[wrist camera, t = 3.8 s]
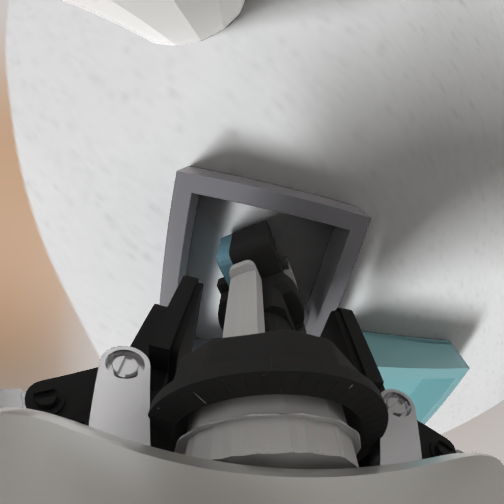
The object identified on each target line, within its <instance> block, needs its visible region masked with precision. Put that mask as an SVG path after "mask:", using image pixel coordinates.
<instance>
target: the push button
mask: <svg viewBox="0 0 504 504" xmlns="http://www.w3.org/2000/svg"><path fill="white" fill-rule="evenodd" d="M285 258H286V261H287V265H288V269H286V270H284V271H283V269H282V266H281V263H280V260H279V256H278V253H277V249H276V245H275V242H274V238H273V236H272V233H271V230H270V228H269V225H268V223H267V221H264V222H262V223H259V224H256V225H254V226H251V227H249V228H246V229H243V230H241V231H238V232H236V233H233V234H231V235H228V236H226V237H223V238H221V240H220V246H219V249H218V252H217V263H218V265H219V268H220V270H221V272H222V274H223V276H224V277H223V278H220V279H219V280H218V283H217V287H218V289H219V291H220V293H221V299H220V304H219V311H218V319H219V324H220V326H221V329H222V331H223V336H222V338H217V339H212V340H210V341H208V342H206V343H205V344H203V345H202V346H200V347H198V348H197V349H195V350H194V351H192V352H191V353H189V354H188V355H186V356H185V357H183V358H182V359H181V360H180V361H179V363H178V367H177V370H176V374H175V377H174V380H173V381H171V382H170V383H169V384H167V385H166V386H165V387H163V388H162V389H161V390H160V391H159V392H158V393H157V395H156V396H155V398H154V399H153V401H152V403H151V405H150V409H149V412H148V415H150V430H151V446H152V447H155V448H159V449H163V450H167V451H171V452H175V453H179V454H183V455H188V456H193V457H198V458H203V459H208V460H214V461H220V462H226V463H233V464H241V465H250V466H259V467H271V468H288V469H341V468H358V467H359V465H358V462H359V461H360V460H361V459H363V458H364V457H365V456H367V455H368V454H369V453H370V447H371V446H372V445H373V444H374V443H375V442H376V441H377V439H379V437H381V436H383V435H384V434H385V431H386V429H387V426H388V420H389V416H388V410H387V406H386V404H385V402H384V399H383V397H382V395H381V393H380V391H379V389H378V388H377V387H376V385H375V384H374V383H373V382H372V381H371V380H370V379H368V378H367V377H366V376H364V375H363V374H361V373H360V372H359V371H358V370H357V369H356V368H355V367H354V366H353V365H352V363H351V362H350V361H349V360H348V359H347V358H346V357H345V356H344V355H343V353H342V352H341V351H340V350H339V349H338V348H337V347H336V346H335V344H334V343H333V342H332V341H330V340H328V339H325V338H321V337H317V336H314V335H310V334H307V333H306V329H305V325H304V316H305V315H304V307H303V304H302V300H301V297H300V293H299V290H298V287H297V283H296V280H295V277H294V274H293V271H292V268H291V266H290V263H289V260H288V258H287V256H286V257H285Z"/></svg>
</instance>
